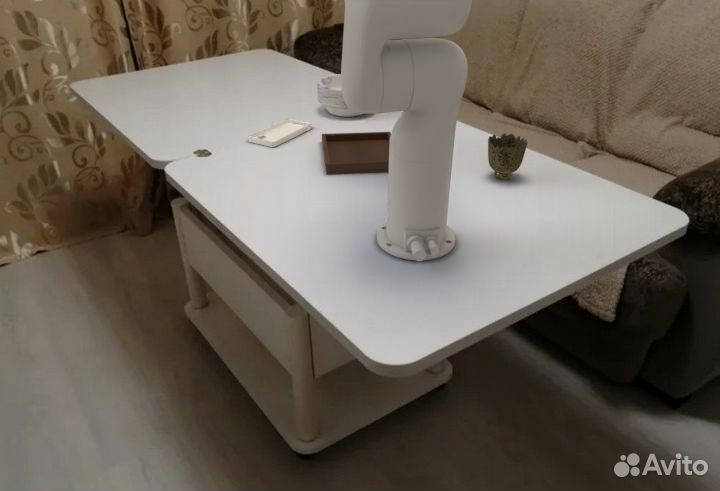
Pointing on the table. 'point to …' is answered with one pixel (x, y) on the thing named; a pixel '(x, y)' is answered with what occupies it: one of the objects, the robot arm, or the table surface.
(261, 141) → the phone case
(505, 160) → the cup
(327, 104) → the paper bowls
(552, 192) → the table surface
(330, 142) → the tray
